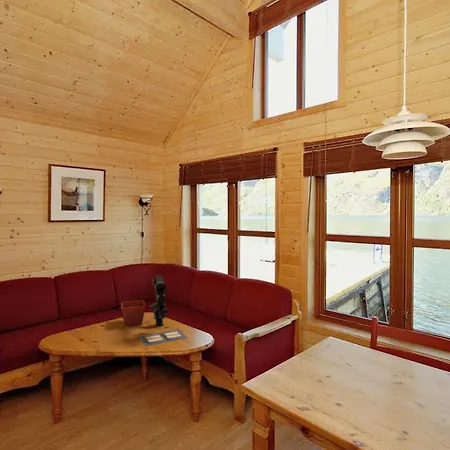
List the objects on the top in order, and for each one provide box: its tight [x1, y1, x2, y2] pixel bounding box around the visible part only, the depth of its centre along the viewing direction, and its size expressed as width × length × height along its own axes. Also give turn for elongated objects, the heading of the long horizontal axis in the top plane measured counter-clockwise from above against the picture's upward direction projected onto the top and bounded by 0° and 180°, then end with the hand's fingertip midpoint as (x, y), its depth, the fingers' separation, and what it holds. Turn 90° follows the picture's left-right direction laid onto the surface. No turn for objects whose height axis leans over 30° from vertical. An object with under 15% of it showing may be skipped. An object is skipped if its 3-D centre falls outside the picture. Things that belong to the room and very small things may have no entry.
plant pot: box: [120, 299, 146, 327], centre depth 274 cm, size 19×19×17 cm
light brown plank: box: [142, 327, 177, 339], centre depth 249 cm, size 6×25×2 cm, turn 117°
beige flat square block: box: [164, 331, 181, 340], centre depth 244 cm, size 10×10×2 cm
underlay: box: [137, 328, 188, 348], centre depth 244 cm, size 22×32×1 cm
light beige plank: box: [146, 335, 163, 344], centre depth 238 cm, size 10×10×2 cm
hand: (161, 319), depth 249 cm, fingers closed
